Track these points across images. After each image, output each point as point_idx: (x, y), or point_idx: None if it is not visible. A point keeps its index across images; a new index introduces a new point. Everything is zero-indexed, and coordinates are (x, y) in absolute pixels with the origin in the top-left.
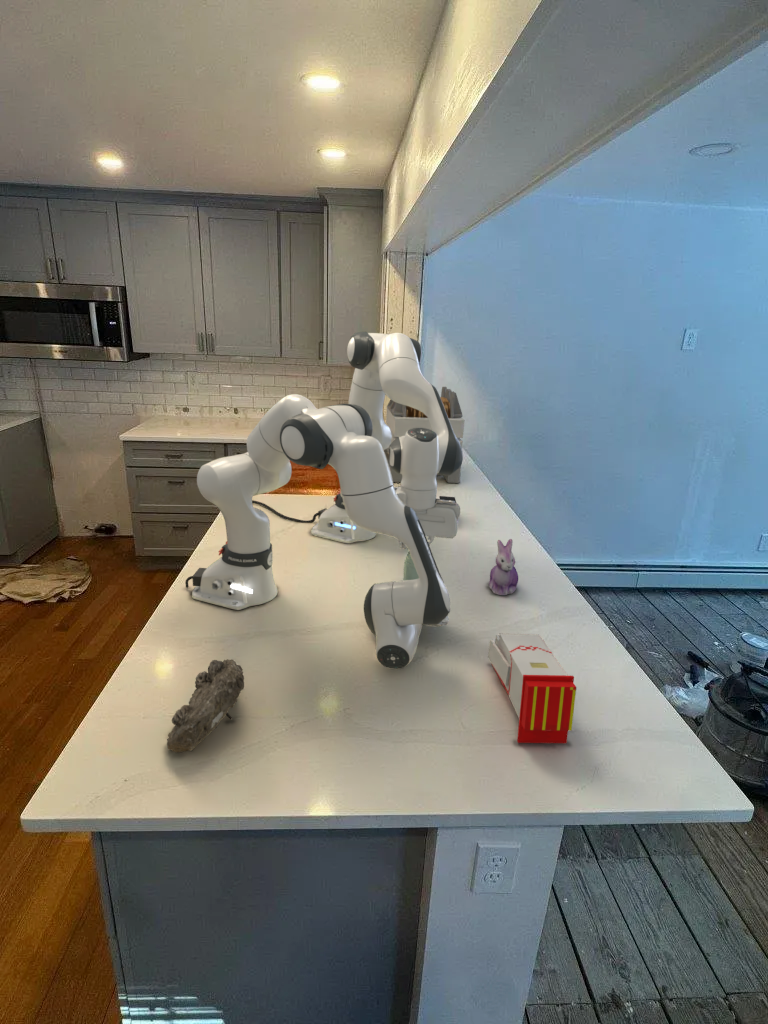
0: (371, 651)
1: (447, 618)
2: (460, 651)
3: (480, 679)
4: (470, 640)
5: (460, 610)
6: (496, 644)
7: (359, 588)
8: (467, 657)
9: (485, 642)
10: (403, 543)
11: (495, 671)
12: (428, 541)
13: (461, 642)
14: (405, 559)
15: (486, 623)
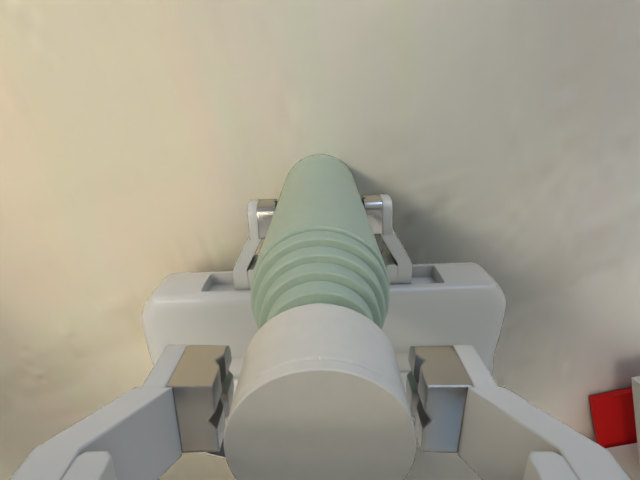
0: None
1: (489, 368)
2: (503, 357)
3: None
4: (541, 296)
5: (523, 96)
6: (637, 399)
7: (40, 22)
8: (522, 378)
9: (590, 294)
10: (198, 444)
11: (596, 438)
12: (489, 415)
13: (510, 314)
14: (254, 301)
15: (618, 172)
